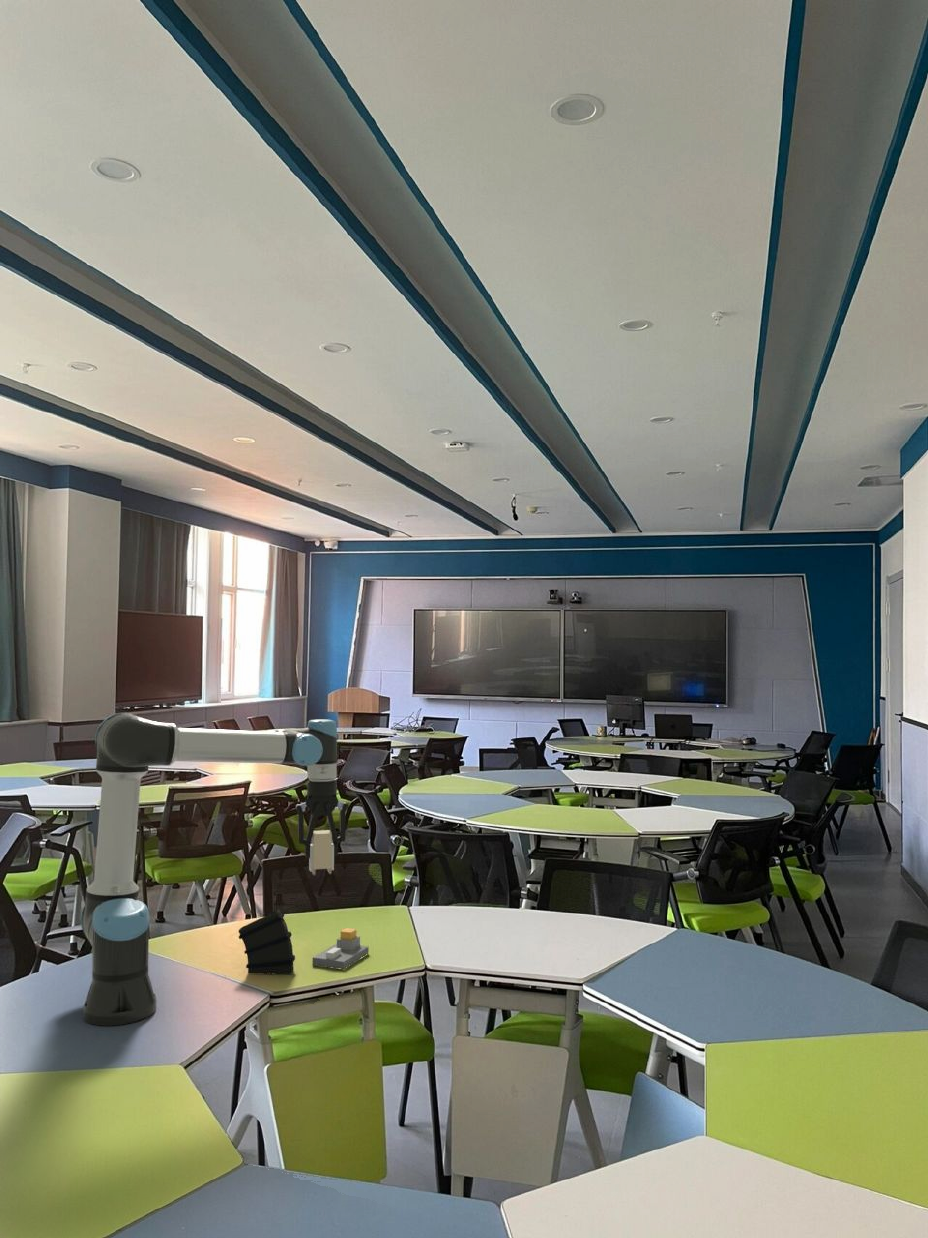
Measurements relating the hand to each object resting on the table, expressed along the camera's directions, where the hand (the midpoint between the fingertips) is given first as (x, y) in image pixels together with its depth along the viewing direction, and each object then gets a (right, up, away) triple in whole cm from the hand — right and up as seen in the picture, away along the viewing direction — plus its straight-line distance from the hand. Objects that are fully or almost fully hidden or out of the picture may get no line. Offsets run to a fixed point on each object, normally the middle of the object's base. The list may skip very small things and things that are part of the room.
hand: (321, 869), depth 247 cm
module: (0, -1, 0) cm, 1 cm away
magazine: (-12, -23, -12) cm, 28 cm away
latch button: (+7, -19, +1) cm, 20 cm away
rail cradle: (+5, -22, -3) cm, 23 cm away
